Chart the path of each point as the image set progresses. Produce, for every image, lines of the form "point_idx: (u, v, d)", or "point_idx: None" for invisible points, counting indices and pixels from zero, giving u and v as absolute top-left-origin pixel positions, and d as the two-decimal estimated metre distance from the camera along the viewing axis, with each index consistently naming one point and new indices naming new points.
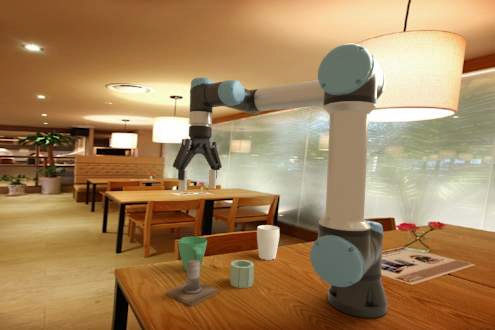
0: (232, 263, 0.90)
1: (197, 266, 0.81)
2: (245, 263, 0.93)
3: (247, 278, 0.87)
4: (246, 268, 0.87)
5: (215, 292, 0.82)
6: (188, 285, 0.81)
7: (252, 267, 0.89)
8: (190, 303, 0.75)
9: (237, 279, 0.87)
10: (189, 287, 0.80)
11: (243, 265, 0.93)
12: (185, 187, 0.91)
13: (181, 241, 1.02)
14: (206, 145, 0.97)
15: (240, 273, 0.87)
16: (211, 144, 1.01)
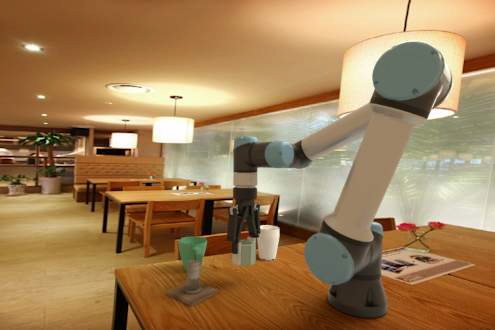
0: None
1: (197, 266, 0.81)
2: (247, 242, 0.93)
3: (249, 256, 0.87)
4: (248, 246, 0.87)
5: (215, 292, 0.82)
6: (188, 285, 0.81)
7: (254, 246, 0.89)
8: (190, 303, 0.75)
9: None
10: (189, 287, 0.80)
11: (245, 244, 0.93)
12: (239, 261, 0.86)
13: (181, 241, 1.02)
14: (252, 207, 0.90)
15: (242, 251, 0.87)
16: (255, 206, 0.94)
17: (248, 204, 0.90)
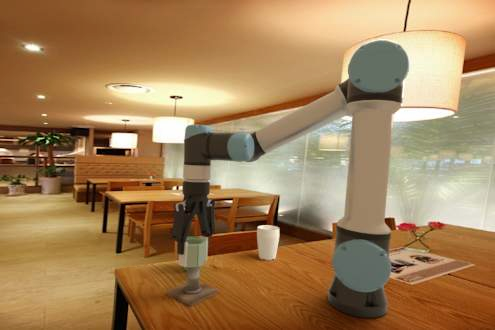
0: None
1: None
2: (198, 241, 0.84)
3: (197, 257, 0.79)
4: (196, 246, 0.79)
5: (215, 292, 0.82)
6: (188, 285, 0.81)
7: (203, 245, 0.80)
8: (190, 303, 0.75)
9: None
10: (189, 287, 0.80)
11: (196, 244, 0.85)
12: (185, 262, 0.78)
13: None
14: (203, 203, 0.82)
15: (189, 251, 0.78)
16: (209, 202, 0.86)
17: (199, 200, 0.81)
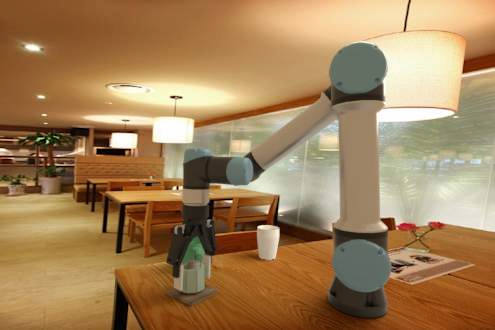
0: None
1: (197, 266, 0.81)
2: None
3: (196, 282, 0.79)
4: (194, 271, 0.79)
5: (215, 292, 0.82)
6: None
7: (202, 270, 0.81)
8: (190, 303, 0.75)
9: (185, 283, 0.79)
10: None
11: None
12: (180, 286, 0.77)
13: None
14: (202, 226, 0.82)
15: (188, 276, 0.79)
16: (208, 223, 0.86)
17: (198, 223, 0.81)
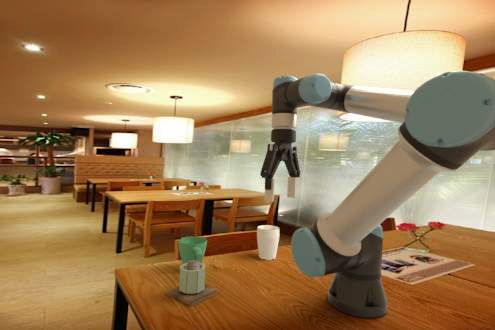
0: (181, 266, 0.82)
1: (197, 266, 0.81)
2: None
3: (196, 283, 0.79)
4: (195, 272, 0.79)
5: (215, 292, 0.82)
6: None
7: (203, 271, 0.81)
8: (190, 303, 0.75)
9: (185, 284, 0.79)
10: None
11: None
12: (272, 197, 0.82)
13: (181, 241, 1.02)
14: (290, 150, 0.88)
15: (188, 277, 0.78)
16: (292, 149, 0.92)
17: (286, 147, 0.88)
